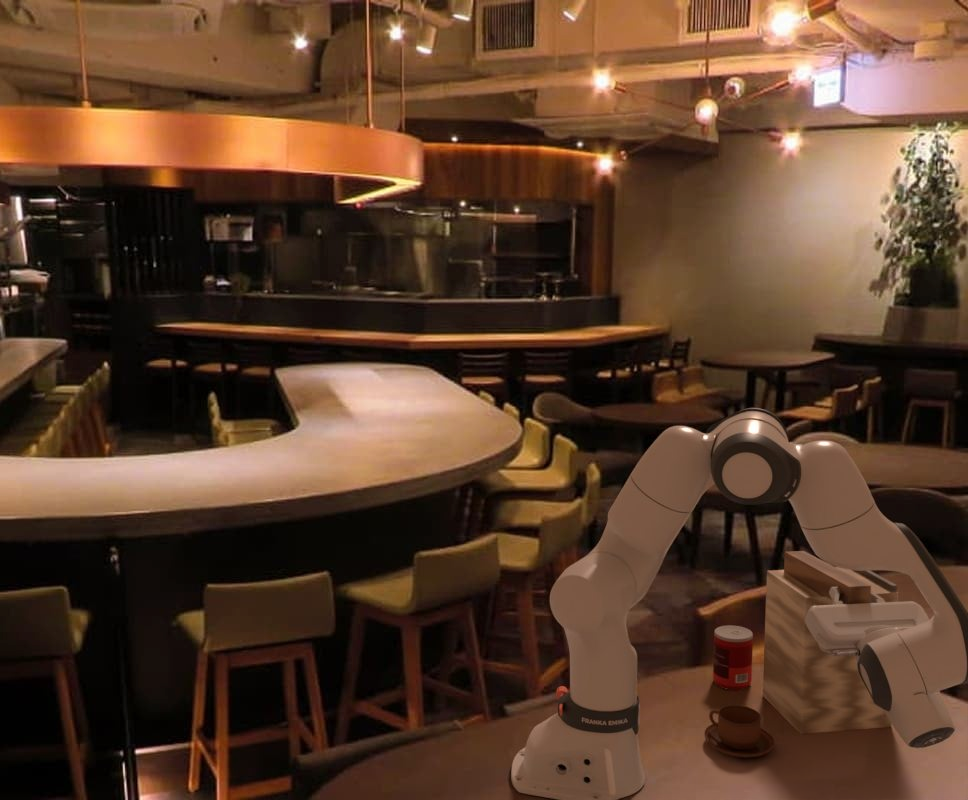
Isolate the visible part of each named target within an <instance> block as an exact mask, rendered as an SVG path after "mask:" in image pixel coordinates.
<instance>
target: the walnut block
mask: <svg viewBox="0 0 968 800" xmlns="http://www.w3.org/2000/svg"><path fill="white" fill-rule="evenodd" d="M783 570H784V572H786V573H787V574H789V575H791V576H792V577H794V578H796V579H797V580H799V581H801V582H803V583H804V584H806V585H808V586H809V587H811V588H813V589H814V590H816V591H818V592H819V593H821V594H823V595H824V596H826V597H828V598H830V599H831V600H832V598H831V596H830V594H829V591H830V588H831V587H840V588H841V590H842V592H843V595H842V597H841V600H839V601H842V602H843V604H863V603H870V598H871V586H870V585H868V584H866V583H865V582H863V581H861V580H859V579H857V578H855V577H853V576H851V575H849V574H847V573H845V572H843V571H841V570H840V569H838V568H836V566H833V565H830V564H828V563H826V562H825V561H823V560H822V559H820V558H819V557H816V556H815V555H812V554H811V553H809V552H807V551H805V550H798V551H797V550H795V551H794V550H793V551H791V550H790V551H784V561H783Z"/></svg>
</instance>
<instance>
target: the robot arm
mask: <svg viewBox="0 0 968 800" xmlns="http://www.w3.org/2000/svg"><path fill="white" fill-rule="evenodd" d="M712 486H716V489H717V490H718V491H719V492H720V494H722V495H723V497H725V498H726V499H728V500H729V501H731V502H733V503H737V504H739V505H747V506H755V505H761V504H766V503H769V504H770V503H784V502H787V501H788V502H789V503H790V504H791V507H792V508H793V511H794V513H795V516H796V519H797V521H798V523H799V525H800V528H801V530H802V532H803V534H804V536H805V539H806V541H807V542H808V544H809V546H810V548H811V549H812V551H813V552H814V554H815V555H816V556H817V558H818V559H820V560H822V561H824V562H826V563H828V564H830V565H832V566H834V567H839V568H843V569H848V570H856V571H869V570H870V571H886V572H887V571H888V572H889V571H890V572H897V573H903V574H905V575H907V576H909V577H910V578H911V579H912V580H913V582H914V584H915V585H916V587H917V589H918V590H919V591H920V593H921V594H922V596H923V597H924V599H925V601H926V602H927V604H928V606H929V607H930V608H931V610H932V611H933V616H932V617H930V618H929V616H928V615H927V612H926V611H925V609H924V608H923V607H922V606H921V604H918V603H917V602H916V601H913V600H911V601H910V600H909V601H898V602H885V601H884V599H883V598H881V597H880V596H878V595H877V594H875V593H874V592H872V590H871V598H870V603H863V604H843V602H842V601H839V600H841V597H842V595H843V592H842V590H841V588H840V587H831V588H830V591H829V594H830V596H831V598H832V604H831V605H818V606H812V607H811V608H810V609H809V611H808V613H807V615H806V618H805V624H806V626H807V628H808V629H809V631H810V632H811V634H812V636H813V637H814V639H815V640H816V641H817V643H818V645H819V647H820V649H821V650H822V651H823V652H826V653H828V654H831V655H832V656H844V655H845V656H855V657H856V659H857V661H858V663H857V666H858V671H859V674H860V677H861V679H862V681H863V683H864V684H865V686H866V688H867V690H868V692H869V694H870V696H871V698H872V699H873V701H874V704H876V705H877V706H879V707H880V708H882V709H883V710H884V712H885V714H886V715H887V717H888V719H889V720H890V722H891V724H892V725H891V726H893V728H894V729H895V731H896V732H897V733H898V736H900V738H901V739H902V740H903V742H904V743H905V744H906V746H908V747H910V748H915V749H920V748H922V749H923V748H927V747H931V746H934V745H937V744H939V743H942V742H945V740H947V739H949V738H950V737H951V736H952V735H953V734H954V733H955V730H956V727H955V722H954V720H953V718H952V715H951V713H950V710H949V708H948V706H947V704H946V702H945V700H944V698H943V695H942V694H941V692H940V691H943V690H946V689H948V688H952V687H955V686H958V685H964V684H968V610H967V609H966V607H965V606H964V605H963V603H962V601H961V600H960V598H959V597H958V594H957V593H956V592H955V591H954V589H953V587H952V586H951V584H950V582H949V580H948V579H947V578H946V577H945V575H944V573H943V572H942V570H941V569H940V567H939V566H938V564H937V563H936V561H935V559H934V558H933V557H932V555H931V553H929V551H928V550H927V548H926V547H925V545H924V543H923V542H922V541H921V540H920V538H919V537H918V536H917V535H916V534H915V532H913V531H912V529H910V528H909V527H908V526H907V525H906V524H904V523H900V522H893V521H891V520H890V519H888V518H887V517H886V516H885V515H884V514H883V513H882V511H880V509H879V508H878V506H877V504H876V502H875V499H874V497H873V495H872V493H871V490H870V488H869V486H868V483H867V481H866V480H865V478H864V476H863V475H862V473H861V471H860V469H859V468H858V465H857V464H856V462H855V461H854V460H853V458H852V456H850V454H849V452H848V451H847V449H845V447H844V446H842V445H841V444H840V443H838V442H835V441H832V440H822V439H821V440H813V441H809V442H806V443H804V444H803V443H800V444H799V443H798V444H797V443H793V442H792V441H790V437H789V433H788V431H787V427H786V426H785V424H784V423H783V422H782V420H781V419H780V418H779V417H778V416H777V415H775V414H774V413H773V412H771V411H769V410H766V409H764V408H763V409H762V408H759V407H749V408H748V407H747V408H744V409H741V410H739V411H738V410H737V411H736V412H733V413H732V414H730V415H728V416H727V417H724V418H722V419H721V420H718V421H717V422H715V423H713V424H711V425H710V426H709V427H708V428H707V432H706V433H704V432H702V431H700V430H698V429H695V428H693V427H690V426H687V425H673V426H670V427H668V428H666V429H665V430H664V431H662V433H660V434H659V435H658V436H657V438H656V439H655V440H654V441H653V442H652V444H651V445H650V446H649V447H648V448H647V449H646V451H645V452H644V453H643V455H642V456H641V458H640V459H639V461H638V462H637V464H636V465H635V467H634V468H633V469H632V472H631V473H630V475H629V476H628V478H627V480H626V481H625V483H624V485H623V487H622V488H621V490H620V492H619V493H618V495H617V497H616V498H615V500H614V502H613V503H612V505H611V507H610V509H609V510H608V513H607V523H606V526H605V528H604V531H603V532H602V535H601V537H600V540H599V541H598V543H597V544H596V545H595V547H593V549H592V550H591V551H590V552H589V553H588V554H586V555H585V556H584V557H582V558H580V559H578V561H576V562H574V563H572V564H571V565H569V566H568V567H566V568H565V569H564V571H563V572H562V573H561V574H560V575H559V576H558V578H557V579H556V581H555V582H554V584H553V586H552V587H551V590H550V594H549V606H550V610H551V612H552V616H553V617H554V618H555V620H556V621H557V623H558V624H559V625H561V627H562V628H563V629H564V632H565V636H566V639H567V645H568V651H569V689H570V690H569V689H568V688H567V687H566V686H564V685H563V686H562V685H560V686H558V687H557V688H556V692H555V693H556V695H555V697H556V699H557V712H556V713H555V714H553V715H552V716H550V717H548V718H547V719H545V720H543V721H542V722H540V723H537V725H535V726H534V728H533V729H532V730H531V732H530V733H529V736H528V738H527V741H526V744H525V747H523V748H521V749H520V750H519V751H518V752H517V753H516V755H515V756H514V758H513V760H512V764H511V773H510V780H511V783H512V786H513V788H514V789H515V790H516V791H517V792H518V793H520V794H524V795H531V796H536V797H541V798H542V797H543V798H547V799H548V798H549V799H554V800H619V799H623V798H626V797H628V796H632V795H634V794H635V793H637V792H639V791H640V790H641V789H642V788H643V786H644V785H645V783H646V775H645V771H644V767H643V763H642V759H641V752H640V746H639V738H638V737H639V736H638V733H639V728H640V725H641V724H640V721H641V720H640V719H641V704H640V701H639V696H638V694H637V692H638V691H637V690H638V689H637V688H638V687H637V686H638V654H637V651H636V649H635V647H634V646H633V645H632V644H631V641H630V637H629V634H628V629H627V617H628V613H629V611H630V609H632V608H633V607H634V606H635V605H637V604H638V603H639V602H640V601H641V600H642V599H644V597H645V596H646V594H647V592H648V591H649V590H650V587H651V585H652V584H653V582H654V579H655V578H656V576H657V574H658V572H659V570H660V568H661V566H662V564H663V561H664V559H665V557H666V555H667V553H668V551H669V549H670V547H671V546H672V544H673V543H674V541H675V539H677V536H678V535H679V534H680V531H681V530H682V528H683V527H684V525H685V523H686V522H687V521H688V518H689V517H690V516H691V514H692V512H693V511H694V510H695V508H696V505H697V504H698V503H699V501H700V499H701V498H702V496H703V495H704V494H705V493H706V492H707V490H708V489H710V488H711V487H712ZM568 690H569V691H568Z"/></svg>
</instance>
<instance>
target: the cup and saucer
mask: <svg viewBox="0 0 968 800" xmlns="http://www.w3.org/2000/svg"><path fill="white" fill-rule="evenodd" d="M714 714H717V717H718V718H717V719H718V721H716V720H715V719H714V717H713V715H714ZM708 717H709V720H710V723H712V724H710V725H709V726H707V727H706V729H704V739H705V741H706V742H707V743H708V744H709V745H710V746H711V747H712V748H713V749H714V750H716V751H718V752H720V753H722V754H724V755H727V756H731V757H736V758H742V759H743V758H746V759H748V758H757V757H761V756H763V755H765V754H767V753H768V752H770V751H771V750H772V749H773V747H774V743H775V740H774V738H773V736H772V734H770V733H769V732H768V731H767V730H766V729H764V728H762V727H761V721H762V716H761V714H760V713H759V711H757V710H755V709H753V708H751V707H749V706H745V705H738V704H735V705H734V704H732V705H725V706H722V707H721V708H719V710H718V709H712V710H710V712H709V714H708Z"/></svg>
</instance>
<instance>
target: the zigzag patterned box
mask: <svg viewBox="0 0 968 800" xmlns="http://www.w3.org/2000/svg"><path fill="white" fill-rule="evenodd" d="M835 567H836V566H835ZM836 568H838V569H840V570H841V571H843V572H845V573H847V574H849V575H851V576H853V577H855V578H857V579H859V580H861V581H863V582H865V583H866V584H868V585H870V586H871V590H872V592H874V593H875V594H877V595H878V596H880V597H881V598H883V599H884V601H885V602H899V592H898V585H897V584H895V583H894V582H893V581H890V580H888V579H886V578H885V577H882V576H881V575H879V574H877V573H875V572H873V570H869V571H856V570H848V569H843V568H839V567H836ZM765 585H766V589H765V590H766V591H765V593H766V594H765V616H764V617H765V619H764V649H763V679H762V696H763V697H764V699H766V700H767V702H769V704H771V706H773V708H774V709H775V710H776V711H777V712H778V713H779V714H780V715H781V716H782V717H783V718H784V719H785V720H787V722H788V723H789V724H790V725H791V726H792V727H794V729H795V730H797V732H798V733H799V734H800V735H802V734H803V735H805V734H817V733H830V732H840V731H842V732H843V731H852V730H854V731H855V730H869V729H878V728H880V729H881V728H891V727H892V726H893V725H892V724H891V722H890V720H889V719H888V717H887V715H886V714H885V712H884V710H883V709H882V708H880V707H879V706H877V705H876V704H874V701H873V699H872V698H871V696H870V694H869V692H868V690H867V688H866V686H865V684H864V683H863V681H862V679H861V677H860V674H859V671H858V666H857V663H858V661H857V659H856V657H855V656H845V655H844V656H832V655H831V654H828V653H826V652H823V651H822V650H821V649H820V647H819V645H818V643H817V641H816V640H815V639H814V637H813V636H812V634H811V632H810V631H809V629H808V628H807V626H806V624H805V618H806V615H807V613H808V611H809V609H810V608H811V607H812V606H818V605H831V604H832V600H831V599H830V598H828V597H826V596H824V595H823V594H821V593H819V592H818V591H816V590H814V589H813V588H811V587H809V586H808V585H806V584H804V583H803V582H801V581H799V580H797V579H796V578H794V577H792V576H791V575H789V574H787V573H786V572H784V569H777V570H776V569H773V570H766V583H765Z"/></svg>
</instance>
